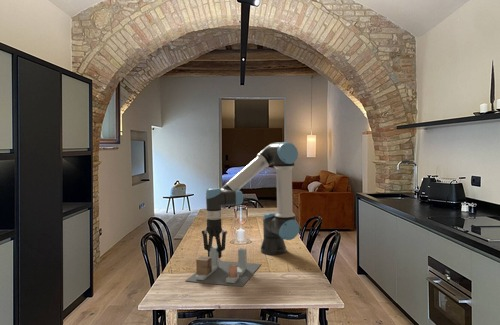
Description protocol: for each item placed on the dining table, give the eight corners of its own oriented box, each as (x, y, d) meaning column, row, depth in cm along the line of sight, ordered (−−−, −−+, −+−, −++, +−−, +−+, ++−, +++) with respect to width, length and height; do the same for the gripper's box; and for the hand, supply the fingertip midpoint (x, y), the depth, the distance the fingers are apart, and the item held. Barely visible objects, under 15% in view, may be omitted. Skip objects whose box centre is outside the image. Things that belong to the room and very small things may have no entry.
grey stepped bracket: (212, 265, 194) (212, 246, 194) (219, 266, 193) (219, 246, 192) (195, 279, 174) (195, 257, 174) (203, 280, 173) (203, 258, 173)
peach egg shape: (230, 274, 176) (230, 263, 176) (238, 275, 175) (238, 264, 175) (227, 277, 172) (227, 266, 172) (235, 277, 171) (235, 267, 171)
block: (201, 270, 182) (201, 256, 182) (211, 271, 181) (211, 257, 180) (196, 274, 177) (196, 259, 177) (207, 275, 175) (206, 260, 175)
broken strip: (239, 268, 190) (239, 248, 189) (247, 268, 189) (247, 248, 188) (225, 282, 170) (225, 260, 170) (234, 283, 169) (233, 260, 168)
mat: (211, 260, 205) (211, 260, 205) (261, 264, 197) (261, 264, 197) (185, 281, 174) (185, 280, 174) (242, 286, 166) (242, 286, 166)
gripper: (196, 219, 190) (197, 264, 191) (226, 220, 185) (227, 267, 186) (202, 216, 197) (203, 260, 198) (231, 217, 192) (232, 262, 193)
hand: (214, 263), depth 192 cm, fingers closed on grey stepped bracket, 3 cm apart
